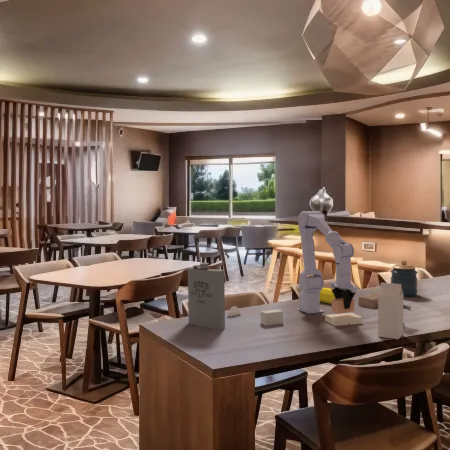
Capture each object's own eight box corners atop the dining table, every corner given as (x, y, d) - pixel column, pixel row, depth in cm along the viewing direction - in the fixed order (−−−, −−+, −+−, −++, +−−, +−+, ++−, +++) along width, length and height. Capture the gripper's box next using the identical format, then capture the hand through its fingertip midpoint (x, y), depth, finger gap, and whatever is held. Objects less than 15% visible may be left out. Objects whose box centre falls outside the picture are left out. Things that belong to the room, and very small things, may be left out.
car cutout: (236, 314, 219) (236, 303, 219) (245, 317, 214) (244, 306, 213) (206, 318, 211) (206, 308, 211) (214, 322, 206) (214, 311, 205)
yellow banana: (336, 306, 231) (346, 303, 236) (336, 291, 231) (346, 289, 236) (306, 300, 245) (316, 298, 250) (305, 287, 244) (316, 285, 249)
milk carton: (398, 339, 175) (398, 285, 174) (378, 337, 178) (378, 284, 177) (403, 334, 181) (403, 282, 180) (383, 332, 184) (383, 281, 183)
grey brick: (260, 323, 200) (260, 311, 200) (277, 321, 204) (277, 309, 203) (265, 325, 197) (265, 313, 196) (283, 323, 200) (283, 311, 200)
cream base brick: (325, 322, 203) (325, 314, 203) (352, 319, 206) (352, 312, 206) (334, 326, 195) (334, 319, 195) (362, 324, 198) (362, 317, 198)
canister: (395, 291, 264) (395, 258, 263) (420, 294, 257) (420, 259, 256) (387, 295, 254) (387, 260, 253) (413, 298, 246) (413, 262, 245)
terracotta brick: (331, 311, 200) (331, 299, 200) (347, 309, 204) (347, 297, 203) (338, 313, 197) (337, 301, 196) (354, 311, 200) (354, 298, 200)
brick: (372, 308, 225) (372, 298, 225) (357, 305, 232) (357, 295, 232) (393, 303, 236) (393, 293, 236) (377, 301, 242) (377, 291, 242)
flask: (185, 323, 201) (184, 261, 200) (193, 321, 205) (192, 260, 204) (219, 330, 191) (218, 265, 189) (226, 327, 194) (225, 263, 193)
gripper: (324, 272, 204) (324, 305, 205) (347, 277, 191) (347, 312, 192) (338, 270, 207) (338, 303, 208) (361, 275, 194) (361, 310, 195)
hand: (343, 307), depth 200 cm, fingers closed on terracotta brick, 4 cm apart
